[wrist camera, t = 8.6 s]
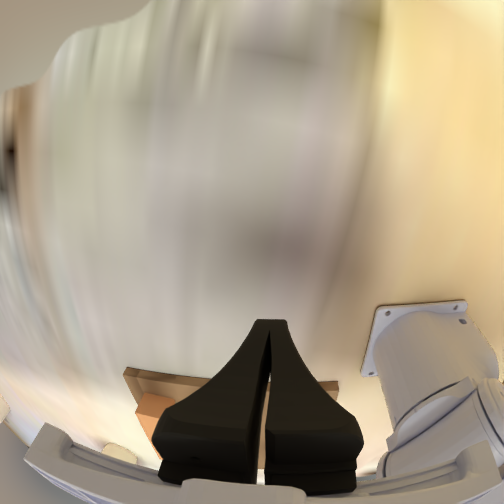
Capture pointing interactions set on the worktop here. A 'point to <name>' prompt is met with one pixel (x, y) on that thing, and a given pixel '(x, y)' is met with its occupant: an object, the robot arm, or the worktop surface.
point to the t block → (152, 412)
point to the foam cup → (119, 453)
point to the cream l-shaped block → (3, 408)
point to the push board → (186, 386)
